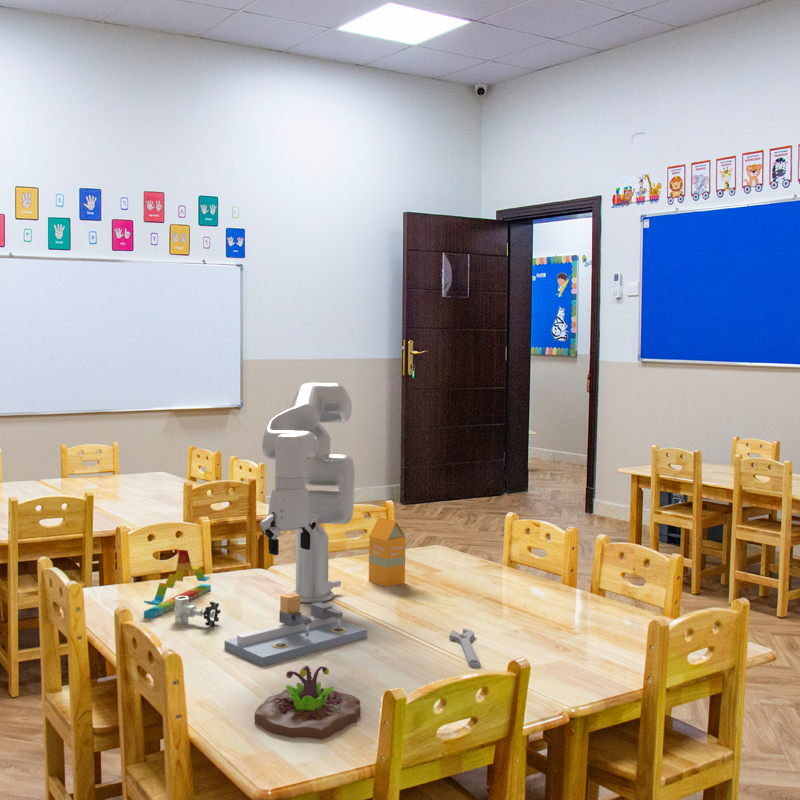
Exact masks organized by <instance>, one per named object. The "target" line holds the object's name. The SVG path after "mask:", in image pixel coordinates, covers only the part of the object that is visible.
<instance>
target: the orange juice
mask: <svg viewBox="0 0 800 800" xmlns="http://www.w3.org/2000/svg"><path fill="white" fill-rule="evenodd" d="M368 537H369V538H368V539H369V542H368V547H369V548H368V550H369V551H368V552H369V553H368V582H371V583H374V584H377V585H380V586H383V587H388V588H389V587H392V586H395V585H400V584H401V585H402V584H405V582H406V581H405V580H406V577H405V576H406V536H405V535H404V533H403V531H402V529H401V527H400V526H399V524H398V521H397V520H394V519H388V518H385V517H379V516H378V518H377V519H376V521H375V524H374V525H373V528H372V529H371V531H370V533H369V536H368Z"/></svg>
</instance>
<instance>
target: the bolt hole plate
mask: <svg viewBox="0 0 800 800" xmlns="http://www.w3.org/2000/svg"><path fill="white" fill-rule="evenodd" d="M343 614H344V613H343V611H340V610H337V609H334V608H333V605H330V604H327V603H323V602H317V603H310V616H312V617H310V618H311V624H309V636H306V624H303V623H301V624H299V625H295V626H289V625H286V624H284V623H282V624H280V625H275V626H271V627H266V628H263V629H259V630H255V631H251V632H250V631H249V632H246V633H242V634H237V636H236V637H233V638H229V639H225V640H224V649H225V650H227V651H229V652H231V653H233V654H235V655H238V656H240V657H242V658H243V659H247V660H249V661H251V662H253V663H255V664H257V665H260V666H262V667H264V666H267V665H271V664H275V663H278V662H282V661H285V660H289V659H293V658H296V657H299V656H304V655H307V654H311V653H315V652H319V651H322V650H326V649H329V648H332V647H337V646H340V645H344V644H347V643H351V642H355V641H357V640H358V641H359V640H361V639H365V638H367V637H368V636H367V635H368V629H367V628H365V627H364V628H363V627H361V626H359V625H355V624H353V623H350V622H347V621H344V620H341V618H343Z"/></svg>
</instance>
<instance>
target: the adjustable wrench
mask: <svg viewBox="0 0 800 800" xmlns="http://www.w3.org/2000/svg"><path fill="white" fill-rule="evenodd" d="M448 639H449V641H453V642H456V643H458V644H459V645H460V646H461V649H462V652H463V654H464V658H465V660H466V663H467V665H468V667H470V668H474V669H476V668H480V666H481V665H480V664H481V663H480V659H479V657H478V655H477V653H476V651H475V649H474V647H473V645H472V643H471V641H472V640H474V639H475V632H474V631H473V630H472V629H469V628H462V632H461V633H458V631H455V630H454V629H452V630H450V632H449V638H448Z"/></svg>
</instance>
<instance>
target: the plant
mask: <svg viewBox="0 0 800 800" xmlns="http://www.w3.org/2000/svg"><path fill="white" fill-rule="evenodd" d="M321 670H322V673H323V675H325V676H326V675H329V672H330V671H329V668H328V667H326V666H323V665H320V666H318V668H317V669H316V670H315V672H314V674H313V677H312V672H311V668H310V667H309V666H308V665H305V666H303V667H302V668H301V669H300V670H299V672H297V671H292V670H288V671H287V672H286V673H285V676H286V678H287V679H291V678H292V677H293V675H294V676H296V677H298V679H299V680H300V681H301V683H300V682H296V685H295V686H296V687H294V686H291V685H285V689H284V690H283V691H282V692H280V693H277V694H275V695H270V696H268V697H267V698H266V700H265V701H263V703H260V705H259V706H257V709H256V710H255V712H254V724H255V725H258V726H260V727H262V728H263V729H264V730H265V731H267V732H269V733H271V734H274V735H279V736H282V737H286V738H290V739H291V738H292V739H293V738H294V739H298V738H306V739H307V738H308V739H316V740H324V739H326V738H330V737H332V736H333V734H335V733H337V732H339V731H342V730H344V729H345V728H346V727H347V726H349V725H352V724H355V723H357V721H358V719H359V718H361V700H360V699H359V698H358V697H356V696H354V695H352V694H348V693H342V692H339V691H335V690H334V689H335V687H334V686H329V687H326V688H322V682H321V681H319V682H317V681H318V677H319V676H318V675H319V672H321ZM305 677H306V678H305Z"/></svg>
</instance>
